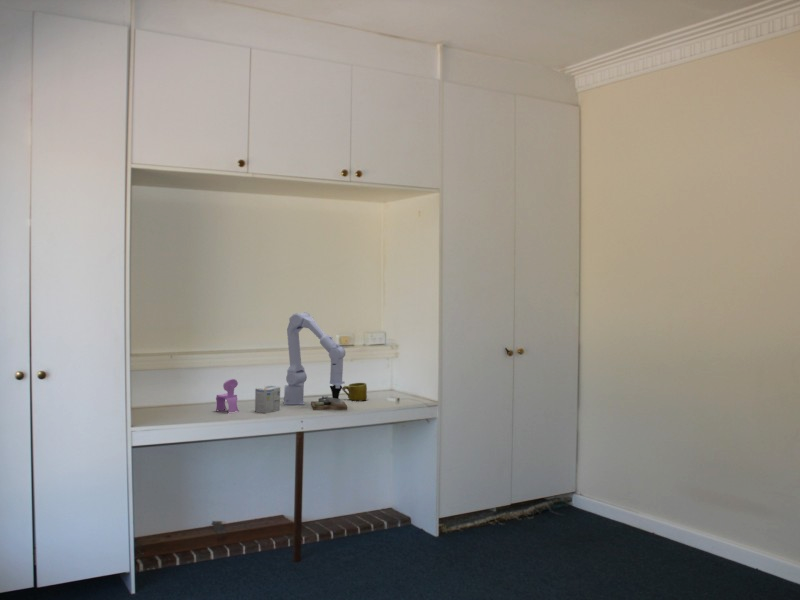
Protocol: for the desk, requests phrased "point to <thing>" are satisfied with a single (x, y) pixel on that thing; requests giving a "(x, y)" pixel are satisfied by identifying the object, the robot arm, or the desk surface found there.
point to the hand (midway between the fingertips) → (335, 400)
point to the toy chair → (228, 396)
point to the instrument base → (328, 406)
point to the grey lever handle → (330, 400)
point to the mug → (356, 391)
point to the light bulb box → (267, 399)
